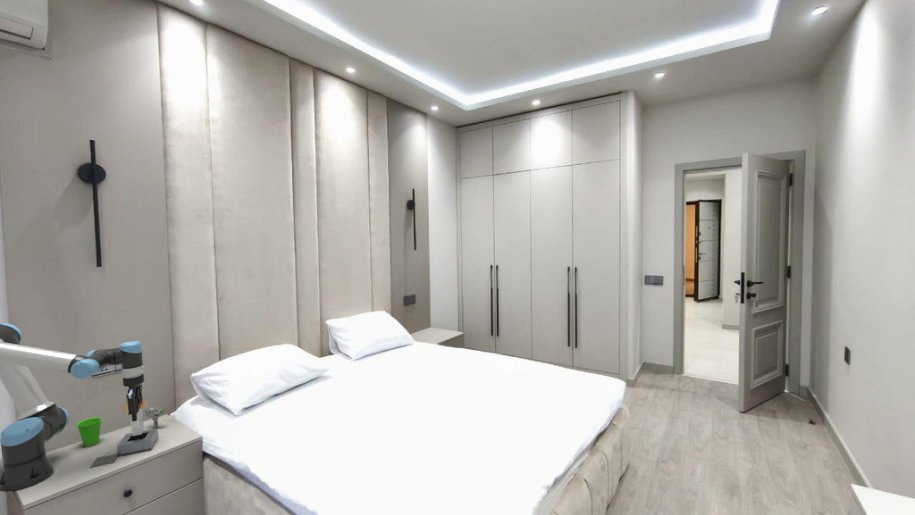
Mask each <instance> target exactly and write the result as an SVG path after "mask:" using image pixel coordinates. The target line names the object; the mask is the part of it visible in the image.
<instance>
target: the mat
mask: <svg viewBox="0 0 915 515" xmlns="http://www.w3.org/2000/svg"><path fill="white" fill-rule="evenodd" d="M118 458H119V457H118V454H117V453H114V454H109V455H108V454H107V455H102V456H99V457H96V458H95V460H93V463H91V465H90V466H89V468H91V469H92V468H96V467H100V466H105V465H111V464H114V463H115V462H116V460H117V459H118Z"/></svg>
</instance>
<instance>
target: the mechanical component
mask: <svg viewBox="0 0 915 515" xmlns="http://www.w3.org/2000/svg"><path fill="white" fill-rule="evenodd" d="M144 413H145V416H146V417H150V418H152V419H151V420H152V421H153V429H156V428H158V427H159V423H158V421H159V420H158V419H159V418H160V417H162V416H164V415H165V409H164V408H160V409H159V407H154V406H153V407H151V406H150V407H146V408H144Z"/></svg>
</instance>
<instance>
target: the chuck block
mask: <svg viewBox="0 0 915 515" xmlns="http://www.w3.org/2000/svg"><path fill="white" fill-rule="evenodd" d="M158 439H159V429H158V427H157V428H151V429H146V430H144V432H143V433H142V434H141V435H136V436H132V432H130V433H126V434H125V435H124V436H123V438H121V440H120V442H119V443H118V444H117V445H116V451H117V452H116V454H118V458H120V457H124V456H129V455H134V454H139V453H144V452H149V451H152V450H153V448H154V446H155V445H154V444H156V443H157V441H158Z"/></svg>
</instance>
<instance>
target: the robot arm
mask: <svg viewBox="0 0 915 515" xmlns="http://www.w3.org/2000/svg"><path fill="white" fill-rule="evenodd" d="M22 333H23V332H22V331H21V330H20V328H18V327H17V326H15V325H14V324H11V323H4V322H2V323H1V322H0V382H1V383H2V385H3V386H4V388H5V390H6V391H7V393H8V395H9V396H10V398H11V400H12V401H13V403H14V404H15V406H16V408H17V409H18V411H19V413H20V415H19V417H18V419H17V421H15V422H13V423H11V424H9V425H7V426H5V428H3V429H2V430H1V432H0V448H1V457H2V464H3V467H2V471H1V474H0V492H3V493H5V492H15V491H18V490H23V489H25V488H29V487H31V486H35V485H37V484H39V483H41V482H43V481H45V480H47V479H49V477H51V476H52V475H53V473H54V472H55V471H54V464H52V462H51V461H50V459H49V458H48V456H47V454H46V453H47V451H46V444H47V442H49V441H50V440H52V439H53V438H54V437H55V436H57V435H59V434H60V433H61V432H62V431H63V430H65V428H66V427H67V426H68V424H69V422H70V413H69V411H68V410H67V409H66V408H64V407H61V406H58V405H57V404H56V403H55V401H49V400H48V399H47V397H46V395H45V393H44V392H43V390H42V389H41V387H40V384H39V383H38V381H37V380H36V378H35V377H34V375H33V373H32V371H31V370H30V368H33V369H40V370H41V369H42V370H47V371H53V372H61V373H67V374H71V375H72V376H73V377H74V378H76V379H81V380H82V379H83V380H84V379H86V378H89V377H92V376H95V374H96V373H98V372H99V371H101V370H104V369H105V368H106V367H110V366H118V365H119V366H120V365H121V374H122V385H123V386H124V387H126V388H127V387H128V389H127V393H126V394H125V396H126V402H127V405H128V411H127V412H128V413H127V415H128V416H130V415H131V417H130V425H132V428H135V427H139V426H140V424H139V412H138V408H137V403H140V402H144V401H143V383H144V382H145V375H144V370H145V369H146V368H145V366H144V361H143V348H142V344H141V342H140V341H138V340H135V341H134V340H133V341H127V342H123V343H121V344H120V345H119V347H116V348H104V349H103V348H102V349H101V348H99V349H96V350H95V349H94V350H90V351H88V352H87V354H86V355H81V354H75V353H70V352H65V351H64V352H63V351H59V350H58V351H57V350H53V349H45V348H41V347H34V346H27V345H23V344H21V340H22V338H23V334H22Z"/></svg>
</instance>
